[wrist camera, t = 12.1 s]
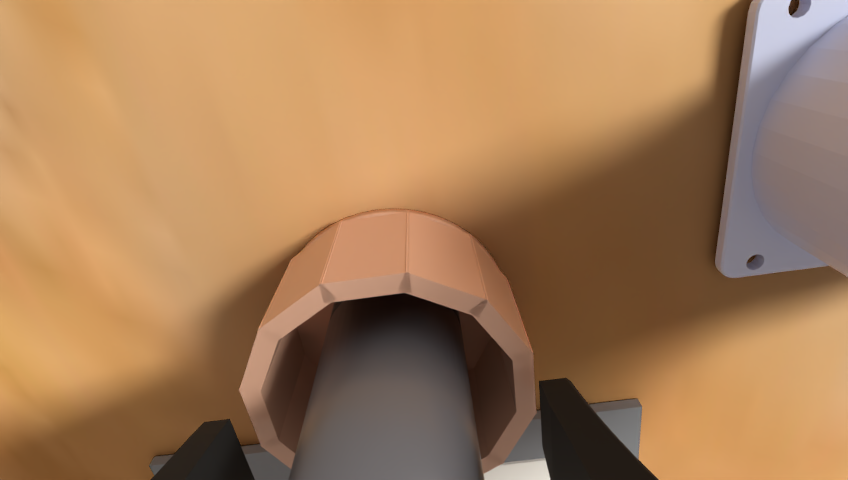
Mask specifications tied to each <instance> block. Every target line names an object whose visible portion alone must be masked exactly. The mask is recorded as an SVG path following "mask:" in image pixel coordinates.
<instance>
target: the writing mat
mask: <svg viewBox="0 0 848 480" xmlns="http://www.w3.org/2000/svg"><path fill="white" fill-rule="evenodd" d="M589 405H590V407H591V408H592V409H593V410H594V411H595V413H596V414H597V415H598V416H599V417H600V418H601V420H602V421H603V422H604V423H605V424H606V425H607V426H608V428H609V429H610V430H611V431H612V432H613V433H614V434H615V435H616V436H617V437H618V439H619V440H620V441H621V442H622V443H623V444H624V445H625V446H626V447H627V448H628V449H629V450H630V451H631V452H632V454H633V455H634V456H635V457H636V458H637V459H638V457H639V443H640V428H641V414H642V406H641V404H640V402H639V401H638V399H629V400H621V401H613V402H604V403H596V404H589ZM241 448H242V450H243V452H244V455H245V457H246V460H247V462H248V464H249V467H250V469H251V472H252V474H253V476H254V479H255V480H289V476H290V472H291V469H290V468H289V467H288V466H286V465H285V464H284V463H282V462H281V461H280V460H278V459H277V458H276V457H275V456H273V455H272V454H271V453H269V452H268V451H267V450H265V449H264V448H263V447H261V446H260V444H256V445H248V446H241ZM173 455H174V454H173ZM173 455H165V456H156V457H154V458H153V460H152V461H151V463H150V465H149V467H150V469H151V470H152V472H153V474H154V476H155V474H156V473H157V472H158V471H159V470H160V469H161V468H162V467H163V466H164V465H165V464H166V463H167V461H168V460H169V459H170V458H171V457H172V456H173ZM484 480H550V476H549V472H548V468H547V464H546V459H545V455H544V451H543V447H542V431H541V411H540V410H538V411H537V413H536V415H535V416H534V418H533V419H532V421H531V422H530V424H529V425H528V427H527V428H526V430H525V431H524V433H523V434H522V436H521V437H520V439H519V440H518V442H517V443H516V445H515V446H514V448H513V449H512V451H511V452H510V454H509V455H508V457H507V458H506V460H505V461H504V463H503V464H501V465H499V466H497V467H495V468H494V469H492V470H490V471H488V472H486V473H484Z"/></svg>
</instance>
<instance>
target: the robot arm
mask: <svg viewBox="0 0 848 480" xmlns="http://www.w3.org/2000/svg"><path fill="white" fill-rule="evenodd" d="M790 2H791V0H753V1H752V2H751V4H750V8H749V11H748V17H747V24H746V32H745V39H744V47H743V54H742V62H741V69H740V77H739V85H738V92H737V100H736V107H735V115H734V122H733V130H732V137H731V145H730V152H729V160H728V167H727V175H726V182H725V190H724V198H723V205H722V213H721V220H720V228H719V235H718V243H717V250H716V258H715V266H716V268H717V269H718V271H720V272H721V273H722V274H723V275H724V276H726V277H729V278H739V277H747V276H754V275H762V274H770V273H778V272H785V271H793V270H801V269H809V268H816V267H824V266H831V267H832V268H834V269H835V270H837V271H839V272H840V273H842V274H843V275H845V276H847V277H848V0H799V6H798V9H797V11H796V12H795V13H794V14H793V15H792V16H791V15H790V14H789V10H788V7H789V4H790ZM753 255H756V256H755V258H754V260H752V261H751V262H750V263H747V261H748V259H749V258H750V257H751V256H753ZM746 263H747V264H746ZM539 390H540V411H541V431H542V447H543V451H544V455H545V459H546V464H547V468H548V472H549V476H550V480H658V479H657V478H656V477H655V476H654V475H653V474H652V473H651V472H650V471H649V470H648V469H647V468H646V467H645V466H644V465H643V464H642V463H641V462H640V461H639V460H638V459H637V458H636V457H635V456H634V455H633V454H632V452H631V451H630V450H629V449H628V448H627V447H626V446H625V445H624V444H623V443H622V442H621V441H620V440H619V439H618V437H617V436H616V435H615V434H614V433H613V432H612V431H611V430H610V429H609V428H608V426H607V425H606V424H605V423H604V422H603V421H602V420H601V418H600V417H599V416H598V415H597V414H596V413H595V411H594V410H593V409H592V408H591V407H590V405H589V404H588V403H587V402H586V400H585V399H584V398H583V397H582V395H581V394H580V393H579V392H578V390H577V389H576V388H575V386H574V385H573V384H572V382H571V381H570V380H568V379H567V378H561V379H553V380H545V381H539ZM151 480H255V479H254V476H253V474H252V472H251V469H250V467H249V464H248V462H247V460H246V457H245V455H244V452H243V450H242V448H241V445H240V443H239V440H238V438H237V436H236V433H235V431H234V428H233V426H232V424H231V421H230V419H226V420H218V421H210V422H204V423H203V424H202V425H201V426H200V427H199V428H198V429H197V430H196V431H195V432H194V433H193V434H192V435H191V436H190V438H189V439H188V440H187V441H186V442H185V443H184V444H183V445H182V446H181V447H180V448H179V449H178V451H177V452H176V453H175V454H174V455H173V456H172V457H171V458H170V459H169V460H168V461H167V463H166V464H165V465H164V466H163V467H162V468H161V469H160V470H159V471H158V472H157V473H156V474H155V476H154V477H153V478H152V479H151Z"/></svg>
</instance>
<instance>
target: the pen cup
mask: <svg viewBox="0 0 848 480" xmlns="http://www.w3.org/2000/svg"><path fill="white" fill-rule="evenodd" d="M399 293H407V294H410V295H413V296H416V297H419V298H422V299H425V300H428V301H431V302H434V303H437V304H440V305H443V306H446V307H449V308H452V309H455V310H458V312H459V318H460V324H461V331H462V337H463V344H464V350H465V357H466V363H467V370H468V376H469V383H470V389H471V396H472V402H473V409H474V415H475V422H476V429H477V435H478V442H479V448H480V455H481V461H482V468H483V474H484V473H486V472H488V471H490V470H492V469H494V468H495V467H497V466H499V465H501V464H503V463H504V461H505V460H506V458H507V457H508V455H509V454H510V452H511V451H512V449H513V448H514V446H515V445H516V443H517V442H518V440H519V439H520V437H521V436H522V434H523V433H524V431H525V430H526V428H527V427H528V425H529V424H530V422H531V421H532V419H533V418H534V416H535V415H536V413H537V411H536V397H535V379H534V360H533V355H534V353H533V350H532V347H531V345H530V342H529V339H528V336H527V333H526V330H525V327H524V325H523V322H522V319H521V316H520V313H519V310H518V307H517V305H516V302H515V299H514V296H513V293H512V290H511V287H510V285H509V282H508V279H506V277H505V276H504V275H503V274H502V272H501V271H500V270H499V268H498V266H497V264H496V262H495V261H494V259H493V258H492V256H491V255H490V254H489V252H488V251H487V249H486V248H485V247H484V246H483V245H482V244H481V243H480V242H479V241H478V240H477V239H476V238H475V237H473V236H472V235H471V234H470V233H468V232H467V231H466V230H464V229H463V228H461V227H459V226H458V225H456V224H454V223H453V222H450V221H448V220H446V219H443V218H441V217H439V216H436V215H432V214H429V213H426V212H421V211H415V210H409V209H379V210H372V211H367V212H362V213H358V214H355V215H352V216H349V217H346V218H344V219H342V220H340V221H338V222H336V223H334V224H332V225H330V226H329V227H327V228H326V229H324V230H323V231H321V232H320V233H318V234H317V235H316V236H315V237H314V238H313V239H312V240H310V241H309V242H308V243H307V245H306V246H305V247H304V248H303V249H302V250H301V252H300V253H299V254H297V255H296V256H295V257H293V258H292V259H291V260H290V263H289V265H288V267H287V269H286V271H285V273H284V275H283V277H282V279H281V282H280V284H279V286H278V288H277V290H276V292H275V294H274V296H273V298H272V300H271V303H270V305H269V307H268V309H267V311H266V313H265V315H264V317H263V319H262V321H261V324H260V326H259V328H258V330H257V331H258V332H257V335H256V339H255V342H254V345H253V348H252V351H251V354H250V357H249V361H248V364H247V367H246V370H245V373H244V376H243V380H242V383H241V385H240V387H239V391H240V394H241V396H242V399H243V401H244V404H245V406H246V409H247V411H248V414H249V417H250V419H251V422H252V424H253V427H254V429H255V432H256V434H257V437H258V439H259V442H260V446H261V447H263V448H264V449H265V450H267V451H268V452H269V453H271V454H272V455H273V456H275V457H276V458H277V459H278V460H280V461H281V462H282V463H284V464H285V465H286V466H288V467H289V468H290V469H291V468H292V464H293V460H294V456H295V452H296V449H297V445H298V441H299V437H300V433H301V429H302V425H303V422H304V418H305V414H306V410H307V406H308V402H309V398H310V394H311V391H312V387H313V383H314V379H315V375H316V371H317V367H318V363H319V360H320V356H321V352H322V348H323V344H324V340H325V336H326V332H327V329H328V325H329V321H330V317H331V313H332V309H333V306H334V302H338V301H346V300H353V299H361V298H368V297H376V296H384V295H391V294H399Z"/></svg>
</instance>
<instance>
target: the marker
mask: <svg viewBox="0 0 848 480" xmlns="http://www.w3.org/2000/svg"><path fill="white" fill-rule="evenodd" d="M289 480H484V474H483V468H482V461H481V455H480V448H479V442H478V435H477V429H476V422H475V415H474V409H473V402H472V396H471V389H470V383H469V376H468V370H467V363H466V357H465V350H464V344H463V337H462V331H461V324H460V318H459V312H458V310H455V309H452V308H449V307H446V306H443V305H440V304H437V303H434V302H431V301H428V300H425V299H422V298H419V297H416V296H413V295H410V294H407V293H399V294H391V295H384V296H376V297H368V298H361V299H353V300H346V301H338V302H334V306H333V309H332V313H331V317H330V321H329V325H328V329H327V332H326V336H325V340H324V344H323V348H322V352H321V356H320V360H319V363H318V367H317V371H316V375H315V379H314V383H313V387H312V391H311V394H310V398H309V402H308V406H307V410H306V414H305V418H304V422H303V425H302V429H301V433H300V437H299V441H298V445H297V449H296V452H295V456H294V460H293V464H292V468H291V472H290V476H289Z"/></svg>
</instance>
